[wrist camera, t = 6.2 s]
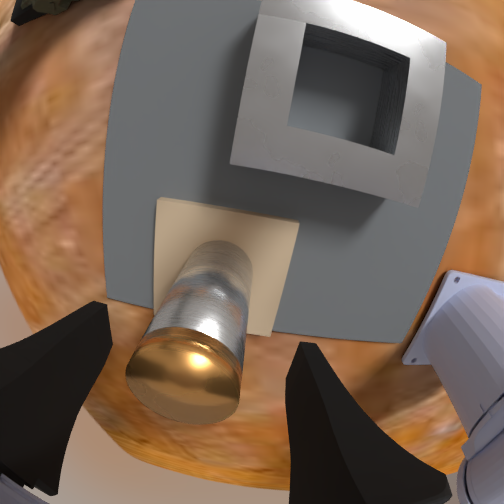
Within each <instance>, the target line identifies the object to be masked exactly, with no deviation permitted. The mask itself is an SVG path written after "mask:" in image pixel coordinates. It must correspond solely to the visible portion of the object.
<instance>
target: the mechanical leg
mask: <svg viewBox="0 0 504 504" xmlns="http://www.w3.org/2000/svg"><path fill="white" fill-rule="evenodd" d="M71 1H78V0H16V3H15V6H14V10H13V13H12V17H11V22H13V23H15V24H17V25H18V26H20V25H22V24H24V23H26V22H29V21H31V20H33V19H36V18H38V17H41V16H43V15H46V14H53V15H57V14H58V13H60V12H62V11H64V10H66V9H67V8H68V7H69V5H70V3H71Z"/></svg>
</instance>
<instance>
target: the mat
mask: <svg viewBox="0 0 504 504" xmlns="http://www.w3.org/2000/svg"><path fill="white" fill-rule="evenodd" d="M261 2H262V0H135V3H134V6H133V9H132V13H131V16H130V19H129V23H128V26H127V30H126V33H125V37H124V41H123V45H122V49H121V53H120V58H119V62H118V67H117V72H116V77H115V82H114V88H113V94H112V100H111V106H110V114H109V121H108V130H107V139H106V150H105V163H104V182H103V245H104V264H105V278H106V289H107V298H111V299H114V300H118V301H122V302H126V303H130V304H135V305H139V306H143V307H147V308H152V309H154V244H155V223H156V208H157V199H159V198H160V197H165V198H171V199H178V200H185V201H191V202H198V203H204V204H210V205H216V206H222V207H228V208H234V209H240V210H246V211H252V212H257V213H263V214H268V215H274V216H279V217H284V218H289V219H295V220H298V221H299V229H298V233H297V237H296V241H295V245H294V249H293V253H292V257H291V261H290V265H289V269H288V273H287V276H286V280H285V284H284V288H283V292H282V295H281V299H280V303H279V306H278V310H277V314H276V317H275V321H274V325H273V328H272V331H278V332H285V333H293V334H301V335H309V336H318V337H327V338H337V339H348V340H360V341H373V342H389V343H402V341H403V340H404V338H405V336H406V334H407V332H408V330H409V328H410V327H411V325H412V323H413V321H414V319H415V317H416V315H417V313H418V311H419V309H420V307H421V305H422V303H423V301H424V298H425V296H426V294H427V292H428V290H429V288H430V285H431V283H432V281H433V278H434V276H435V274H436V271H437V269H438V266H439V264H440V262H441V259H442V256H443V254H444V251H445V249H446V246H447V243H448V240H449V237H450V235H451V232H452V229H453V226H454V223H455V220H456V216H457V213H458V210H459V207H460V203H461V200H462V196H463V192H464V189H465V185H466V181H467V177H468V172H469V168H470V164H471V159H472V154H473V149H474V143H475V137H476V131H477V124H478V117H479V109H480V99H481V86H482V85H481V84H480V83H478V82H477V81H475V80H474V79H472V78H471V77H469V76H468V75H466V74H464V73H463V72H461V71H460V70H458V69H456V68H455V67H453V66H451V65H450V64H448V63H446V62H445V74H444V85H443V93H442V101H441V108H440V115H439V121H438V127H437V133H436V138H435V143H434V148H433V153H432V157H431V162H430V166H429V170H428V174H427V178H426V182H425V186H424V190H423V193H422V197H421V201H420V204H419V207H418V208H417V207H413V206H410V205H407V204H404V203H400V202H397V201H393V200H390V199H386V198H383V197H379V196H376V195H372V194H368V193H365V192H361V191H357V190H353V189H349V188H345V187H341V186H337V185H333V184H329V183H324V182H320V181H316V180H311V179H306V178H302V177H297V176H292V175H287V174H282V173H277V172H272V171H267V170H261V169H256V168H250V167H244V166H238V165H232V164H230V158H231V152H232V147H233V141H234V135H235V129H236V124H237V118H238V113H239V107H240V102H241V97H242V91H243V86H244V81H245V76H246V71H247V66H248V61H249V56H250V51H251V47H252V42H253V37H254V33H255V28H256V23H257V19H258V15H259V10H260V6H261ZM382 75H383V70H382V69H379V68H377V67H374V66H371V65H368V64H366V63H363V62H360V61H357V60H354V59H351V58H347V57H344V56H341V55H337V54H334V53H330V52H327V51H323V50H319V49H315V48H311V47H307V46H302V49H301V54H300V59H299V65H298V70H297V75H296V81H295V86H294V91H293V96H292V102H291V107H290V112H289V117H288V122H287V126H290V127H295V128H299V129H304V130H308V131H312V132H317V133H321V134H325V135H329V136H332V137H336V138H340V139H344V140H347V141H351V142H354V143H358V144H361V145H364V146H368V147H369V146H370V141H371V137H372V132H373V127H374V122H375V116H376V111H377V105H378V100H379V94H380V88H381V81H382Z"/></svg>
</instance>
